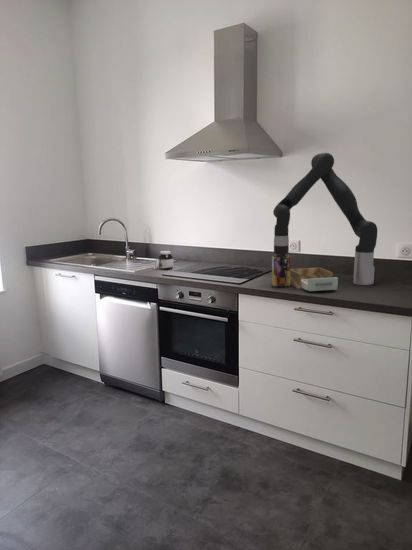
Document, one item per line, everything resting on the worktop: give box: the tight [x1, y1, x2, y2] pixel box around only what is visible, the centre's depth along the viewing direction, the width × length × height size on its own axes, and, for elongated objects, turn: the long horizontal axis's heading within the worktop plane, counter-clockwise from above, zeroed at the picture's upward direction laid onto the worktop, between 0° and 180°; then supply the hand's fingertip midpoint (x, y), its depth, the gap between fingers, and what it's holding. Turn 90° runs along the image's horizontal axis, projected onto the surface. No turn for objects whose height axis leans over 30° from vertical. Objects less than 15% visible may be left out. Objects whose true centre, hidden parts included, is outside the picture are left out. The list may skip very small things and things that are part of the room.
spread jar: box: [153, 250, 174, 271], centre depth 268 cm, size 12×11×12 cm
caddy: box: [289, 267, 333, 290], centre depth 216 cm, size 18×14×8 cm
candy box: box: [271, 254, 291, 287], centre depth 213 cm, size 9×4×15 cm, turn 96°
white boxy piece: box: [301, 276, 339, 292], centre depth 206 cm, size 15×15×6 cm
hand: (280, 276), depth 214 cm, fingers closed on candy box, 4 cm apart
